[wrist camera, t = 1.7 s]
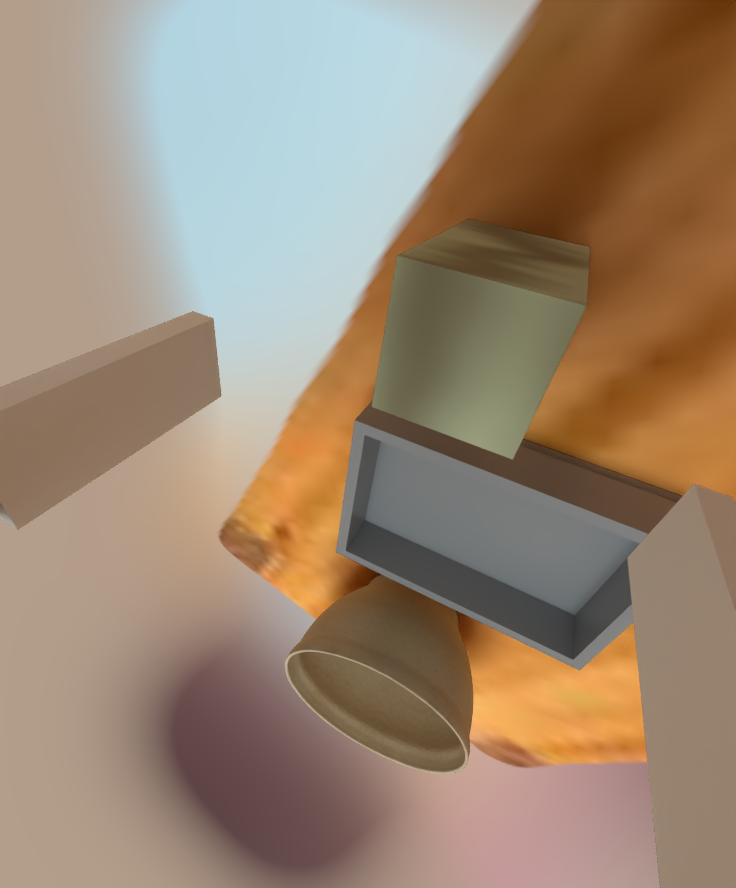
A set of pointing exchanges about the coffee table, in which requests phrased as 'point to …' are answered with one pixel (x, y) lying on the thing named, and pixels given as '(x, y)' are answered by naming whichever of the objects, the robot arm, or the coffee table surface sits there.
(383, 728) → the planter bowl
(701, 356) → the coffee table surface
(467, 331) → the olive block
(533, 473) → the bin
